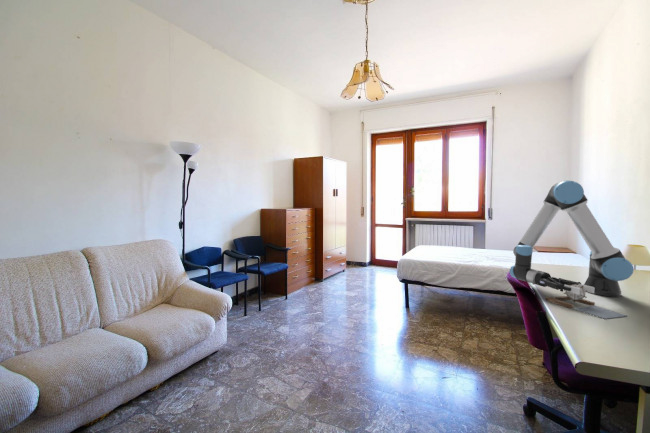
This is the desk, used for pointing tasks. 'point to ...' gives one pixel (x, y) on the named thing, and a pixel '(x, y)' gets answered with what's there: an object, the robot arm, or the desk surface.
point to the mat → (600, 312)
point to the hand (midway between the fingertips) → (586, 291)
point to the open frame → (557, 301)
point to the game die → (576, 296)
